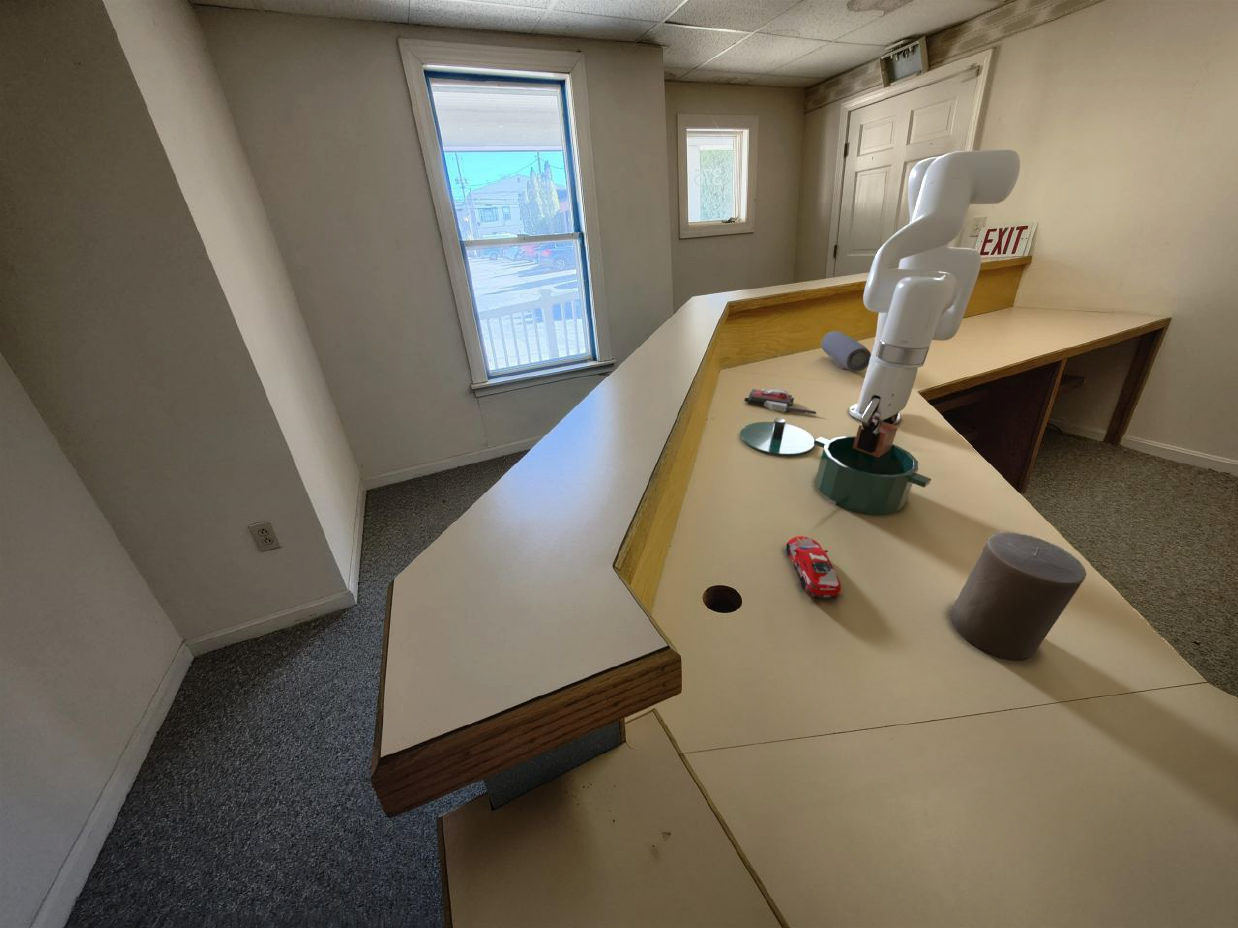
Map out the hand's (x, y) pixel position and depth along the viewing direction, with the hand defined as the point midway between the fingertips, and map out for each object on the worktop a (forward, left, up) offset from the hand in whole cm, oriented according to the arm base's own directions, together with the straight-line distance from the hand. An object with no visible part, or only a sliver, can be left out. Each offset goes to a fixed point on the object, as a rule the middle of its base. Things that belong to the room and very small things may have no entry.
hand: (872, 444), depth 88 cm
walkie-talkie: (-25, -36, -11) cm, 45 cm away
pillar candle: (+20, +29, -11) cm, 37 cm away
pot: (0, 0, -11) cm, 11 cm away
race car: (+29, +7, -11) cm, 32 cm away
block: (0, 0, -1) cm, 1 cm away
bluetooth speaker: (-76, -45, -11) cm, 89 cm away
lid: (-6, -24, -10) cm, 27 cm away
